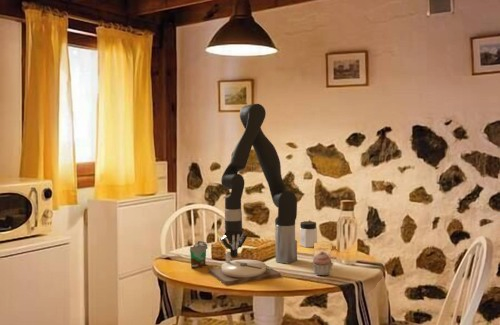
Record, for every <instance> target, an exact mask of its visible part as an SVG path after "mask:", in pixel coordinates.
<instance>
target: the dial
mask: <svg viewBox="0 0 500 325" xmlns="http://www.w3.org/2000/svg"><path fill="white" fill-rule="evenodd" d="M266 265H267V264H266V263H265V262H263V261H261V260H255V259H233V260H231V255H230V251H225V262H224V263H222V264H221V267H222V273H223V274H224V275H227V276H230V277H239V278H246V277H255V276H259V275H262V274H264V273H265V272H266Z"/></svg>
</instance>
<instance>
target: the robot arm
mask: <svg viewBox="0 0 500 325" xmlns="http://www.w3.org/2000/svg"><path fill="white" fill-rule="evenodd" d="M239 119H240V122H241V123H242V126H243V127H244V132H243V134H242V135H241V137H240V139H239V140H238V142H237V143H236V145H235V147H234V149H233V152H232V156H231V158H230V162H229V163H228V165H227V167H226V168H225V170H224V172H223V173H222V176H221V180H220V181H221V186H222V187H223V188H224V189H227V190H230V194H227V195H226V196H225V198H224V235H223V237H220V242H221V243H222V244H223V245H224V247H225V248H226V249H229V250H230V251H229V252H230V258H231V259H236V258H238V256H239V255H238V254H239V252H238V250H239V248H242V246H243V245H244V243H245V241H246V240H247V238H248V235H246V234H245V233H244V232H243V230H242V229H243V212H242V197H243V192H244V188H245V179H244V176H243V175H242V174H241V173H239V172H240V171H242V170H245V168H246V166H247V164H248V160H249V156H250V153H251V150H252V149H254V152H255V155H256V159H257V161H258V163H259V166H260V168H261V170H262V173H263V176H264V178H265V180H266V182H267V185H268V188H269V192H270V195H271V199H272V200H271V201H272V203H273V204H274V206H275V207H276V208H278V209H277V217H276V218H274V226H275V227H274V230H275V231H274V232H275V233H274V236H275V237H274V238H275V241H274V242H275V247H274V248H275V256H274V257H275V261H276V262H277V263H280V264H291V263H294V262H297V261H298V241H297V240H296V220H297V218H298V217H297V215H298V214H297V213H298V200H297V195H296V193H294V192H293V191H291V190H289V189H287V187H286V185H285V183H284V180H283V178H282V166H281V160H280V157H279V155H278V152H277V150H276V147H275V146H274V144H273V143H272V142H271V140H270V139H268V137H267V136H266V135H265V134H264V132H263V130H262V128H261V127H262V125H263V123H264V121H265V119H266V109H265V107H264V106H263V105H262V104H260V103H251V104H245V105H244V106H242V107H241V108H240V110H239Z"/></svg>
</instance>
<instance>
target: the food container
mask: <svg viewBox="0 0 500 325" xmlns="http://www.w3.org/2000/svg"><path fill="white" fill-rule="evenodd" d="M208 249H209V247H208V244H207V242H205V241H202V240H197V243H196V244H194V245H193V246H190V247H189V252H190V265H191V268H190V269H200V268H204V267H206V263H207V262H206V260H207V259H206V258H207V250H208Z"/></svg>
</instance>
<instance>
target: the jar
mask: <svg viewBox="0 0 500 325" xmlns="http://www.w3.org/2000/svg"><path fill="white" fill-rule="evenodd" d="M299 225H300V226H299V227H300V228H299V246H300V247H303V248H314V247H313V246H314V243H317V244H318V227H317V222H316V221H311V220H308V221H307V220H306V221H301V222H300V224H299Z"/></svg>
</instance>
